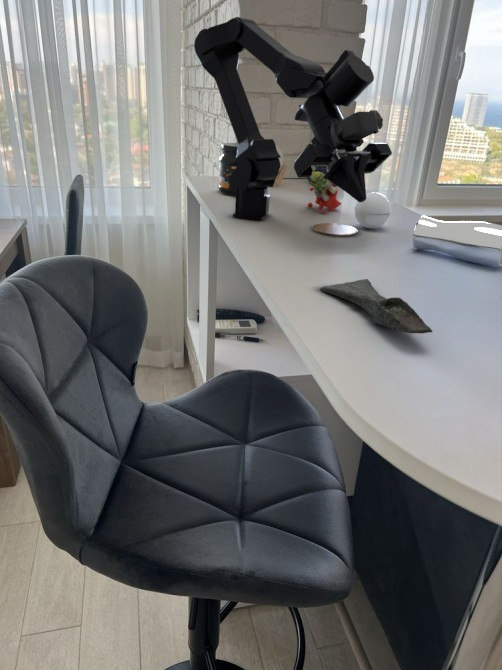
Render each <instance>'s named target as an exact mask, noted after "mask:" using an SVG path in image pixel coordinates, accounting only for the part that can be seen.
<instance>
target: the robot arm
mask: <svg viewBox="0 0 502 670" xmlns="http://www.w3.org/2000/svg"><path fill="white" fill-rule="evenodd" d="M193 43H194V44H193V46H194V54H195V55H196V57H197V59H198V61H199V63H200V66H201V67H202V68H203V70H204V71H206V72H207V73H208V74H209V75H210V76H211V77H212V79H214V81H215V84H216V87H217V89H218V92H219V94H220V98H221V100H222V103H223V106H224V108H225V111H226V114H227V117H228V119H229V122H230V125H231V128H232V130H233V133H234V135H235V139H236V141H237V143H238V150H237V155H236V159H237V164H238V166H237V167H236V169H235V170H234V171H233V172H232V173H231V175H230V176H229V182H230V187H232V188H236V196H235V202H234V203H235V204H234V205H235V206H234V213H233V214H232V218H239V219H249V220H255V221H256V220H257V221H262V220H264V219H265V218H266V217H267V216H268V215H269V213H270V198H271V197H270V194H268V188H273V187H274V185H275V182H276V179H277V178H278V175H279V173H280V169H281V161H280V158H281V157H282V156H281V155H280V153H279V151H278V149H277V144H276V141H275V140H274V139H273V138H264V136H263V135H262V134H261V132H260V129H259V127H258V123H257V121H256V118H255V116H254V113H253V109H252V107H251V105H250V102H249V98H248V96H247V94H246V91H245V89H244V86H243V85H244V84H243V83H242V80H241V78H240V77H241V76H240V74H239V72H238V71H239V70H238V66H239V61H240V53H242V52H244V51H245V50H246V51H247V52H249V54H251V55H252V56H253V57H254V58H255V59H256V60H258V61H259V62H260V63H261V64H263V65H264V67H266V68H267V69H268V70H269V71H271V72H272V74H273V76H274V77H275V82H276V84H277V85H278V87H279V88H280V89H281V90H282V91H283V93H284V94H285V95H286V96H287V97H289V98H292V99H305V101H304V102H303V104H298V106H297V110H296V112H295V115H294V120H295V121H298V122H307V123H308V126H309V127H310V130H311V132H312V135H313V138H312V139H311V140H310V142H311V143H307V145H306V147H305V148H304V149H303V150H302V152H301V153H300V154H299V155H298V156H297V158H296V159H295V160H294V163H293V169H294V172H295V174H296V176H297V178H298V179H300V178H301V179H302V178H310V176H311V175H312V172H314V170H313V166H314V167H326V169H325V170H326V171H327V172H326V173H324V174H325V175H324V177H323V178H324V179H325V180H329V181H330V183H331V182H332V183H333V185H335V186H336V187H338V188H339V189H340V190H342V191H344V193H346V194H348V195H349V196H350V197H352V199H354V200H356V201H357V202H364V201H365V200H366V194H367V188H366V174H371V173H373V172H375V171H376V170H377V169H378V168H379V167H380V166H382V164H383V163H385V161H386V160H388V158H389V157H391V156H392V154H393V152H392V150H391V147H390V145H389V144H388V143H386V142H369V143H368V144H367V145H365V147H364V148H363V149H362V150H358V149H357V148H359V147H361V146H362V145H363V144H364V143H365V141H364V139H365V138H367V137H369V136H371V135H376V134H379V131H380V130H382V128H383V125H384V124H383V122H384V119H383V117H382V116H381V114H380V112H379V111H378V110H375V109H374V110H373V109H371V110H369V111H355V112H353V113H352V114H350V115H349V116H347V117H345V118H344V117H343V115H342V113H341V111H340V109H339V107H347V108H348V107H350V106H352V103H354V102H355V101H356V100H357V99H358V98H359V97H360V95H362V93H363V92H365V90H366V89H367V88H369V86H370V85H371V84H372V83H373V82H374V80H375V76H374V72H373V70H372V68H371V67H370V66H369V65H368V64H366V63H365V62H364V60H363V59H362V58H360V57H359V56H357V55H356V54H355V51H354V50H347V49H345V50H344V51H343V52H342V53H341V54H340V56H339V58H338V59H337V61H336V62H335V63H334V64H333V65H332V66H331V68H329V69H328V71H327V72H326V71H325V68H323V66H322V65H321V64H319V63H316V62H315V61H312V60H310V59H308V58H305V57H302V56H299V55H296V54H294V53H293V52H291V51H290V50H288V49H287V48H286V47H285V46H284V45H282V44H281V43H280V42H279V41H277V40H276V39H275V38H273V37H272V36H271V35H270V34H269V33H267V32H266V31H265V30H264V29H262V28H261V27H260V26H259V25H258V23H257V22H256V21H255V20H254V19H252V18H246V17H241V16H235V17H232V18H230V19H228V20H227V21H226V22H223V23H219V24H216V25H213V26H210V27H208V28H202V29H201V30H200V31H199V32H198V33H197V35H196V36H195V39H194V42H193Z"/></svg>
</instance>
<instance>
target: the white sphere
mask: <svg viewBox="0 0 502 670" xmlns="http://www.w3.org/2000/svg"><path fill="white" fill-rule="evenodd" d="M390 203H391V202H390V201H389V199H388V198H387V196H385V194H382V193H381V192H377V191H375V192H374V191H370V192H366V200H365V201H364V202H358V201H357V202H356V203H355V207H354V216H355V218H356V221H357V222H358V223H359V225H361V226H362V227H364V228H366V229H377V228H381V227H382V226H383V225H384V224H386V222H387V221H388V220H389V219H390V216H391V212H392V206H391V204H390Z"/></svg>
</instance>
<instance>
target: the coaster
mask: <svg viewBox="0 0 502 670" xmlns="http://www.w3.org/2000/svg"><path fill="white" fill-rule="evenodd" d="M312 230H313V232H315V233H317V234H320V235H325V236H329V237H340V238H341V237H353V236H356V235H357V234H358V229H357V228H355V227H353V226H351V225H347V224H342V223H330V222H324V223H323V222H322V223H317V224H314V225H313V227H312Z"/></svg>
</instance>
